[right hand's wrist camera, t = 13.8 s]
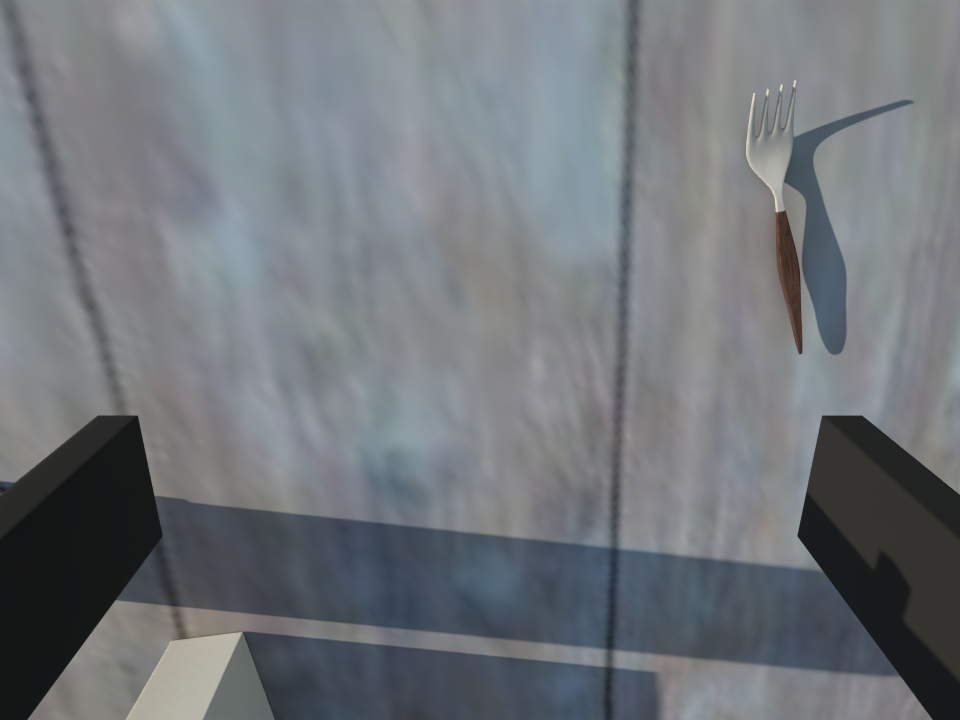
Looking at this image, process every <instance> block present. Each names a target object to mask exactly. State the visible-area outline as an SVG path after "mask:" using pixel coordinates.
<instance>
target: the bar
mask: <svg viewBox="0 0 960 720" xmlns="http://www.w3.org/2000/svg"><path fill="white" fill-rule="evenodd" d="M126 720H275V719H274V716H273V713H272V711H271V708H270V705H269V702H268V700H267V697H266V694H265V691H264V689H263V686H262V683H261V681H260V678H259V675H258V672H257V670H256V667H255V664H254V661H253V659H252V656H251V653H250V650H249V648H248V645H247V642H246V639H245V637H244V634H243V632H237V633H230V634H222V635H214V636H206V637H198V638H190V639H182V640H174V641H171V643H170V644H169V646H168V648H167V649H166V651H165V653H164V655H163V656H162V658H161V660H160V662H159V663H158V665H157V667H156V669H155V670H154V672H153V674H152V676H151V677H150V679H149V681H148V682H147V684H146V686H145V688H144V689H143V691H142V693H141V695H140V696H139V698H138V700H137V702H136V703H135V705H134V707H133V709H132V710H131V712H130V714H129V715H128V717H127V719H126Z"/></svg>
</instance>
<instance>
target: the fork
mask: <svg viewBox="0 0 960 720" xmlns="http://www.w3.org/2000/svg"><path fill="white" fill-rule="evenodd" d="M796 85H797V80H795V81H794V85H793V90H792V95H791V99H790V104H789V110H788V115H787V121H786V125H785V127H784V129H781V126H780V119H781V103H782V91H783V85H782V84H781V87H780V91H779V96H778V102H777V107H776V112H775V119H774V125H773V129H772V131H771V132H770V133H768V130H767V120H768V100H769V89H767V93H766V98H765V103H764V109H763V115H762V122H761V129H760V133H759V135H758V136H757V137H756V136H755V133H754V120H755V97H756V93H753V99H752V105H751V112H750V118H749V126H748V135H747V145H746V156H747V160H748V163H749V165H750V166H751V168H752V169H753V171H754V172H755V173H756V174H757V175H758V176H759V177H760V178H761V179H762V180H763V181H764V182H765V183H766V184H767V185H768V186H769V187H770V189H771V190H772V192H773V194H774V197H775V204H776V251H777V266H778V273H779V278H780V282H781V286H782V290H783V293H784V297H785V300H786V304H787V308H788V312H789V316H790V320H791V325H792V329H793V334H794V338H795V342H796V346H797V350H798V353H799V354H802V323H801V288H800V269H799V263H798V258H797V253H796V249H795V245H794V241H793V237H792V234H791V230H790V226H789V222H788V219H787V215H786V211H785V207H784V202H783V195H782V189H783V183H784V179H785V176H786V173H787V169H788V166H789V163H790V159H791V155H792V150H793V117H794V104H795V93H796Z"/></svg>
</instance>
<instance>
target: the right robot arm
mask: <svg viewBox="0 0 960 720" xmlns="http://www.w3.org/2000/svg"><path fill="white" fill-rule="evenodd" d="M161 538H162V531H161V526H160V521H159V516H158V512H157V507H156V502H155V497H154V492H153V487H152V482H151V477H150V473H149V468H148V463H147V458H146V453H145V448H144V443H143V438H142V434H141V429H140V424H139V419H138V416H97V417H96V418H94V419H93V420H92V421H91V422H89V423H88V424H87V425H86V426H85V427H83V428H82V429H81V430H80V431H78V432H77V433H76V434H75V435H73V436H72V437H71V438H70V439H69V440H67V441H66V442H65V443H64V444H62V445H61V446H60V447H59V448H57V449H56V450H55V451H54V452H53V453H51V454H50V455H49V456H48V457H46V458H45V459H44V460H43V461H41V462H40V463H39V464H38V465H36V466H35V467H34V468H33V469H32V470H30V471H29V472H28V473H27V474H25V475H24V476H23V477H22V478H20V479H19V480H18V481H17V482H16V483H14V484H13V485H12V486H11V487H9V488H8V489H7V490H6V491H4V492H3V493H2V494H1V495H0V720H27V719H28V718H29V717H30V715H31V714H32V713H33V711H34V710H35V709H36V707H37V706H38V704H39V703H40V702H41V700H42V699H43V698H44V696H45V695H46V694H47V692H48V691H49V690H50V688H51V687H52V685H53V684H54V683H55V681H56V680H57V679H58V677H59V676H60V675H61V673H62V672H63V671H64V669H65V668H66V666H67V665H68V664H69V662H70V661H71V660H72V658H73V657H74V656H75V654H76V653H77V652H78V650H79V649H80V647H81V646H82V645H83V643H84V642H85V641H86V639H87V638H88V637H89V635H90V634H91V633H92V631H93V630H94V628H95V627H96V626H97V624H98V623H99V622H100V620H101V619H102V618H103V616H104V615H105V614H106V612H107V611H108V609H109V608H110V607H111V605H112V604H113V603H114V601H115V600H116V599H117V597H118V596H119V595H120V593H121V592H122V590H123V589H124V588H125V586H126V585H127V584H128V582H129V581H130V580H131V578H132V577H133V576H134V574H135V573H136V571H137V570H138V569H139V567H140V566H141V565H142V563H143V562H144V561H145V559H146V558H147V557H148V555H149V554H150V552H151V551H152V550H153V548H154V547H155V546H156V544H157V543H158V542H159V540H160V539H161ZM798 538H799V539H800V540H801V542H802V543H803V544H804V546H805V547H806V548H807V550H808V551H809V552H810V554H811V555H812V557H813V558H814V559H815V561H816V562H817V563H818V565H819V566H820V567H821V569H822V570H823V571H824V573H825V574H826V576H827V577H828V578H829V580H830V581H831V582H832V584H833V585H834V586H835V588H836V589H837V590H838V592H839V593H840V595H841V596H842V597H843V599H844V600H845V601H846V603H847V604H848V605H849V607H850V608H851V609H852V611H853V612H854V614H855V615H856V616H857V618H858V619H859V620H860V622H861V623H862V624H863V626H864V627H865V628H866V630H867V631H868V633H869V634H870V635H871V637H872V638H873V639H874V641H875V642H876V643H877V645H878V646H879V647H880V649H881V650H882V652H883V653H884V654H885V656H886V657H887V658H888V660H889V661H890V662H891V664H892V665H893V666H894V668H895V669H896V671H897V672H898V673H899V675H900V676H901V677H902V679H903V680H904V681H905V683H906V684H907V685H908V687H909V688H910V690H911V691H912V692H913V694H914V695H915V696H916V698H917V699H918V700H919V702H920V703H921V704H922V706H923V707H924V709H925V710H926V711H927V713H928V714H929V715H930V717H931V718H932V719H933V720H960V495H959V494H958V493H957V492H956V491H954V490H953V489H952V488H951V487H949V486H948V485H947V484H946V483H944V482H943V481H942V480H941V479H940V478H938V477H937V476H936V475H935V474H933V473H932V472H931V471H930V470H928V469H927V468H926V467H925V466H924V465H922V464H921V463H920V462H919V461H917V460H916V459H915V458H914V457H912V456H911V455H910V454H909V453H907V452H906V451H905V450H904V449H903V448H901V447H900V446H899V445H898V444H896V443H895V442H894V441H893V440H891V439H890V438H889V437H888V436H887V435H885V434H884V433H883V432H882V431H880V430H879V429H878V428H877V427H875V426H874V425H873V424H872V423H871V422H869V421H868V420H867V419H866V418H864V417H863V416H822V419H821V424H820V429H819V434H818V438H817V443H816V448H815V453H814V458H813V463H812V468H811V473H810V477H809V482H808V487H807V492H806V497H805V502H804V507H803V512H802V516H801V521H800V526H799V531H798Z"/></svg>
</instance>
